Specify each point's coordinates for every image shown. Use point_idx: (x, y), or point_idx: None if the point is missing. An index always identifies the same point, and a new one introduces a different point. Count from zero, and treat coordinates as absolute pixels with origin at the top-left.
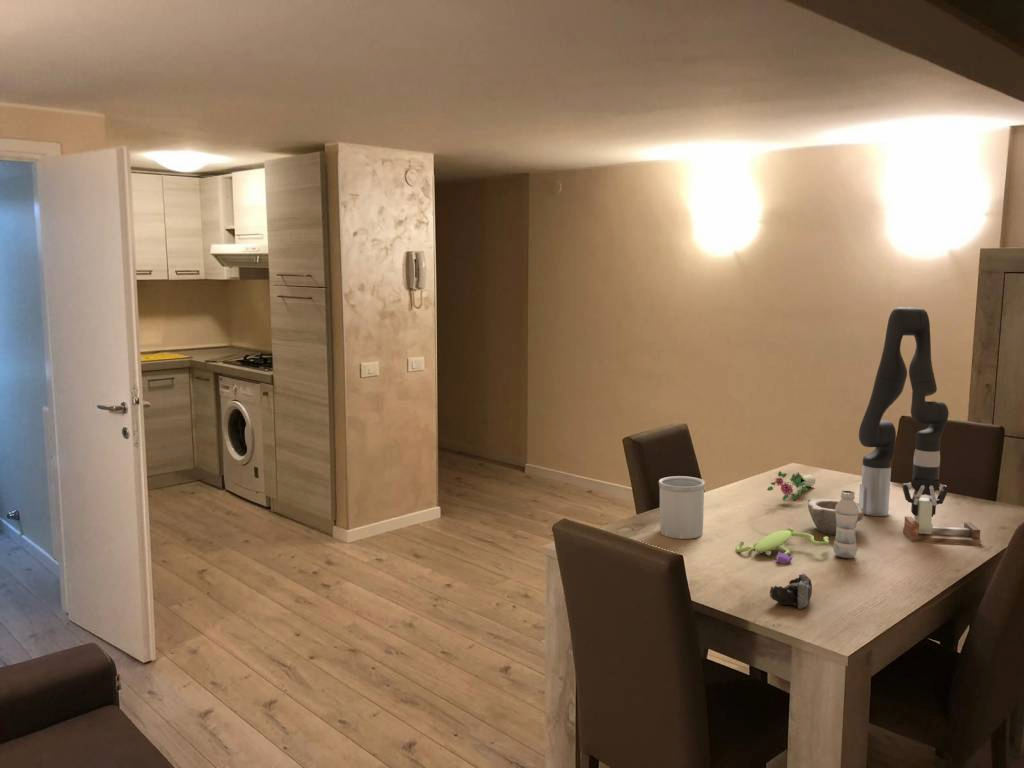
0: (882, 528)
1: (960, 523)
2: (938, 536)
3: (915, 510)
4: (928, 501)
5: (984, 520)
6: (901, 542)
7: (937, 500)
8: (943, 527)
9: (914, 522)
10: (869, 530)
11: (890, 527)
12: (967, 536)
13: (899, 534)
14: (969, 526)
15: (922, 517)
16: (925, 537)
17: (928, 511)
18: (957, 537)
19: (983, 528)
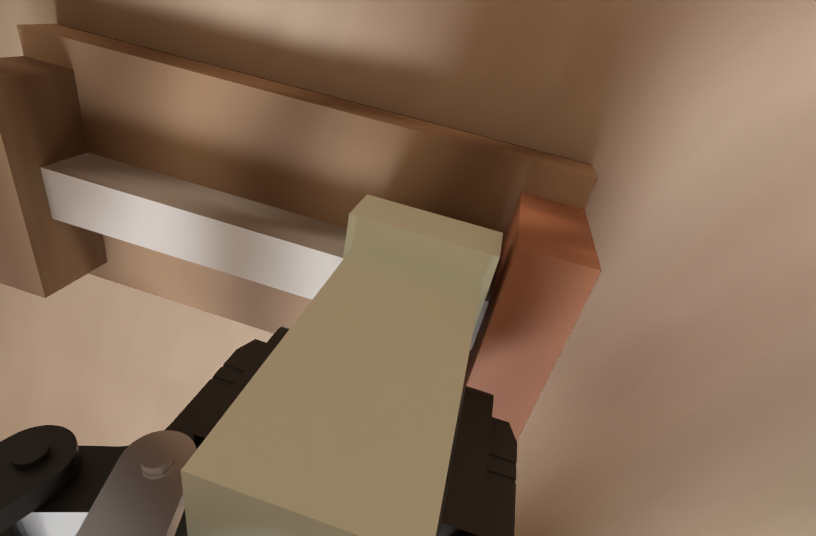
0: (602, 459)
1: (107, 420)
2: (331, 165)
3: (485, 449)
4: (240, 533)
5: (2, 426)
6: (727, 145)
7: (65, 512)
8: (233, 257)
9: (533, 305)
10: (748, 451)
11: (528, 460)
12: (102, 144)
13: (568, 339)
14: (15, 188)
15: (433, 320)
16: (470, 145)
17: (332, 354)
18: (182, 122)
19: (13, 340)
